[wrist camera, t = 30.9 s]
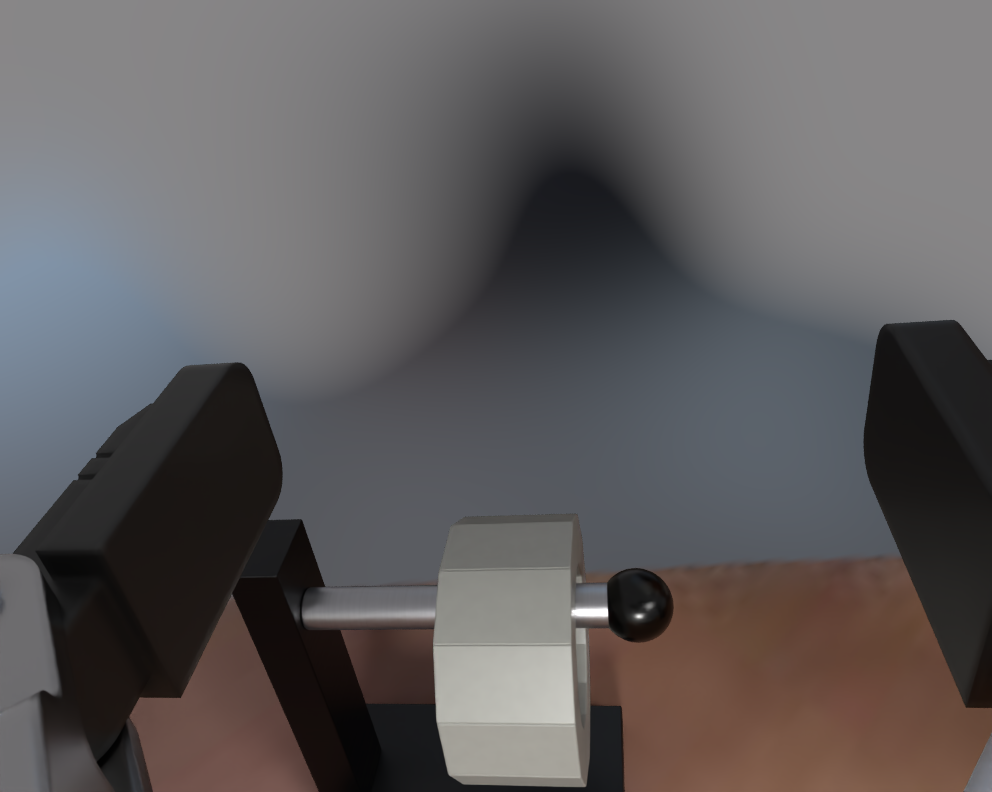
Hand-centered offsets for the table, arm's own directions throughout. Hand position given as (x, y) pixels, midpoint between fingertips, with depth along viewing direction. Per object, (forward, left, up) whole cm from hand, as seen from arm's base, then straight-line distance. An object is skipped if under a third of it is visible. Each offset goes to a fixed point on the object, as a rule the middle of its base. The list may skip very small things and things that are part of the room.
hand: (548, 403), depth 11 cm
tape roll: (+1, -12, -24) cm, 27 cm away
